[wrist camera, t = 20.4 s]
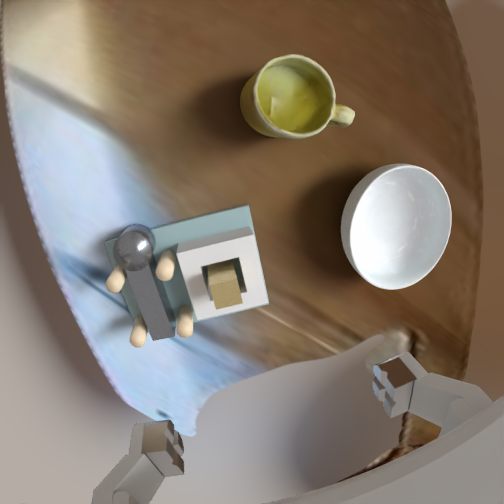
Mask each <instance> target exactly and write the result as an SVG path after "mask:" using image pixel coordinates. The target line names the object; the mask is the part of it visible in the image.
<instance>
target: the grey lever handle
mask: <svg viewBox="0 0 504 504" xmlns="http://www.w3.org/2000/svg"><path fill="white" fill-rule="evenodd" d="M155 246H156V239H155V236H154V234H153V232H152V231H151V230H150V229H149V228H148V227H146V226H144V225H141V224H134V225H131V226H129V227H127V228H126V229H125V230H124V232H123V233H122V234H121V235H120V236H119V238H118V239H117V240H116V242H115V244H114V247H113V255H114V258H115V260H116V262H117V263H118V265H119V266H121V267H122V268H123V269H125V271H126V274H127V276H128V279H129V282H130V285H131V287H132V290H133V293H134V295H135V298H136V300H137V303H138V306H139V308H140V311H141V313H142V316H143V318H144V321H145V323H146V325H147V328H148V330H149V333H150V335H151V337H152V340H153V341H154V340H159V339H164V338H169V337H174V336H175V328H176V318H175V315H174V312H173V310H172V307H171V304H170V301H169V298H168V296H167V293H166V290H165V287H164V284H163V281H162V280H160V279H159V278H158V277H157V276H156V268H157V263H156V259H155V256H154V253H153V252H154V249H155Z"/></svg>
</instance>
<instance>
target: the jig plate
mask: <svg viewBox="0 0 504 504" xmlns="http://www.w3.org/2000/svg"><path fill="white" fill-rule="evenodd" d="M150 230H151V231H152V232H153V234H154V236H155V239H156V246H155V249H154V252H153V253H154V256H155V259H156V263H157V268H156V276H157V277H158V278H159V279H160V280H162V281H163V284H164V287H165V290H166V293H167V296H168V298H169V301H170V304H171V307H172V310H173V312H174V315H175V318H176V326H177V334H178V335H179V336H180V337H183V338H187V337H190V336H191V335H192V333H193V322H198V321H202V320H206V319H210V318H215V317H219V316H223V315H227V314H231V313H235V312H239V311H243V310H247V309H251V308H255V307H259V306H263V305H267V304H269V300H268V295H267V290H266V286H265V281H264V276H263V271H262V266H261V262H260V257H259V252H258V247H257V243H256V238H255V233H254V228H253V224H252V219H251V214H250V209H249V205H248V204H246V205H242V206H237V207H233V208H229V209H225V210H221V211H217V212H212V213H208V214H204V215H200V216H196V217H192V218H188V219H185V220H181V221H177V222H173V223H169V224H165V225H162V226H158V227H154V228H150ZM118 238H119V237H118ZM118 238H114V239H111V240H107V241H106V242H105V243H104V244H105V247H106V250H107V253H108V256H109V259H110V262H111V265H112V267H113V271H112V273H111V274H110V276H109V278H108V279H107V281H106V288H107V289H108V290H109V291H110V292H112V293H118V292H119V291H120V290H121V291H122V294H123V296H124V299H125V301H126V304H127V306H128V309H129V311H130V314H131V316H132V318H133V321H134V326H133V330H132V333H131V336H130V343H131V344H132V345H133V346H134V347H142V346H143V345H144V344H145V340H146V336H147V333H148V332H149V330H148V328H147V325H146V323H145V321H144V318H143V316H142V313H141V311H140V308H139V306H138V303H137V300H136V298H135V295H134V293H133V290H132V287H131V285H130V282H129V279H128V276H127V274H126V271H125V269H123V268H122V267H121V266H119V265H118V263H117V262H116V260H115V258H114V255H113V247H114V244H115V242H116V240H117V239H118ZM229 259H232V262H233V266H234V269H235V273H236V277H237V280H238V285H239V289H240V293H241V297H242V301H243V303H242V304H238V305H234V306H230V307H226V308H222V309H217V310H216V308H215V305H214V301H213V298H212V294H211V291H210V287H209V279H208V265H209V264H213V263H217V262H221V261H225V260H229Z"/></svg>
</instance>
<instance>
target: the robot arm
mask: <svg viewBox="0 0 504 504" xmlns="http://www.w3.org/2000/svg"><path fill="white" fill-rule="evenodd" d="M373 373H374V374H375V375H376V376H375V378H374V379H373V389H374V392H375V395H376V397H377V398H378V400H380V401H382V402H384V409H385V410H386V412H387V413H388V415H389V416H390V418H392V417H394V416H397V415H399V414H402V413H404V412H406V411H409V412H411V413H413V414H415V415H417V416H419V417H421V418H423V419H426V420H428V421H430V422H432V423H434V424H436V425H438V426H440V427H442V430H441V432H440V435H439V437H438V438H437V439H435V440H433V441H431V442H430V443H428V444H426V445H424V446H422V447H420V448H418V449H416V450H414V451H412V452H410V453H408V454H406V455H404V456H402V457H400V458H398V459H396V460H394V461H391V462H389V463H387V464H385V465H382V466H380V467H378V468H375V469H373V470H370V471H368V472H366V473H363V474H360V475H358V476H355V477H353V478H350V479H347V480H344V481H342V482H339V483H336V484H333V485H330V486H327V487H324V488H321V489H318V490H314V491H311V492H307V493H304V494H300V495H297V496H293V497H289V498H286V499H281V500H277V501H273V502H269V503H264V504H504V395H503V396H502V397H500V398H499V399H497V400H496V401H495V402H492V401H491V399H490V398H489V397H488V396H486V394H485V393H484V392H483V391H482V390H481V389H480V388H479V387H478V386H477V385H473V384H469V383H466V382H462V381H459V380H455V379H451V378H448V377H445V376H441V375H438V374H434V373H429V374H428V373H427V372H426V371H425V370H424V369H423V367H422V366H421V365H420V364H419V363H418V362H417V361H416V360H415V359H414V358H413V357H412V355H411V354H410V353H409V352H405V353H402V354H400V355H398V356H396V357H393V358H390V359H388V360H386V361H383V362H381V363H378V364H376V365H374V368H373ZM183 453H184V447H183V442H182V439H181V436H180V434H179V432H177V431H175V430H174V424H173V423H172V421H171V420H164V421H155V422H146V423H136V424H134V426H133V428H132V435H131V441H130V448H129V455H125V456H124V457H123V458H122V459H121V460H120V462H119V463H118V464H117V465H116V466H115V467H114V468H113V469H112V471H111V472H110V473H109V474H108V475H107V476H106V477H105V478H104V479H103V481H102V482H101V483H100V484H99V485H98V486H97V487H96V488H95V489H94V491H93V498H92V504H149V503H150V501H151V500H152V498H153V496H154V495H155V493H156V491H157V490H158V488H159V487H160V485H161V483H162V482H163V480H164V477H169V476H177V475H183V474H184V461H183V459H182V458H181V456H182V454H183Z"/></svg>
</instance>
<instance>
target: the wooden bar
mask: <svg viewBox="0 0 504 504" xmlns="http://www.w3.org/2000/svg"><path fill="white" fill-rule="evenodd" d="M208 279H209V287H210V291H211V294H212V298H213V301H214V305H215V308H216V310H217V309H222V308H226V307H230V306H234V305H238V304H242V303H243V301H242V297H241V293H240V289H239V285H238V280H237V277H236V273H235V269H234V266H233V262H232V259H229V260H225V261H221V262H217V263H213V264H209V265H208Z"/></svg>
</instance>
